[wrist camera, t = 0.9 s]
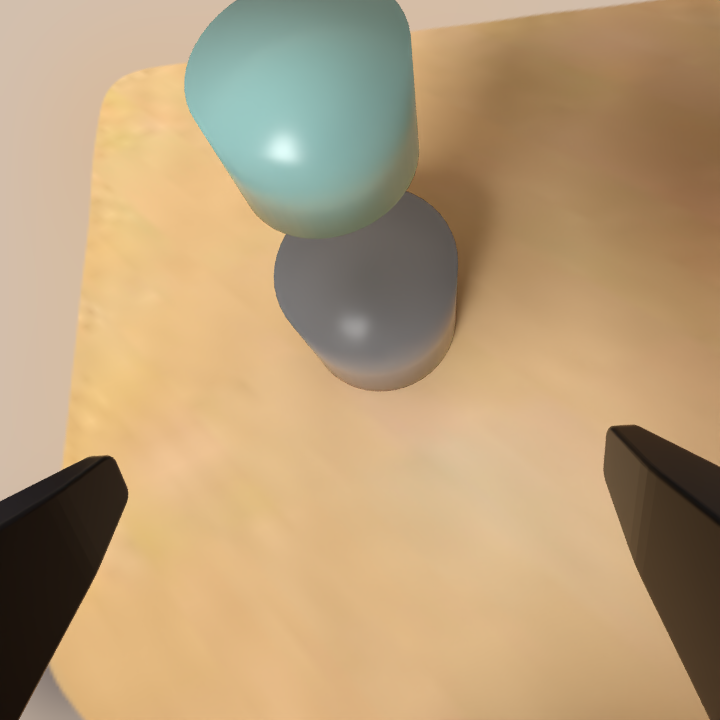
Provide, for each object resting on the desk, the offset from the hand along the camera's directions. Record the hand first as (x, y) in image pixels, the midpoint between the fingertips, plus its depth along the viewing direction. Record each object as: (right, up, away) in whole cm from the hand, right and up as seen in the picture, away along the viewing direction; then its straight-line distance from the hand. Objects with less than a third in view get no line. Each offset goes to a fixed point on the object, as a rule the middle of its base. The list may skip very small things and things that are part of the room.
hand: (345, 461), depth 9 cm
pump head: (0, +8, +6) cm, 10 cm away
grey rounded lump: (+1, +4, +15) cm, 15 cm away
